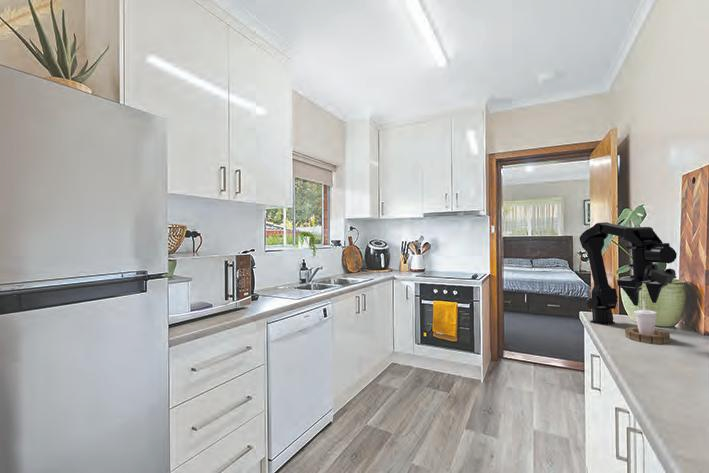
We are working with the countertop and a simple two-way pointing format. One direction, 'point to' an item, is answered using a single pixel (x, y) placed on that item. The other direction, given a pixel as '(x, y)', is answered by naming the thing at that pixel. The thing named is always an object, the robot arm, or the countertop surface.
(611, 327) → the countertop surface
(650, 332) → the smoothie
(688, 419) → the countertop surface
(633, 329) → the walnut ring
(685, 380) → the countertop surface
